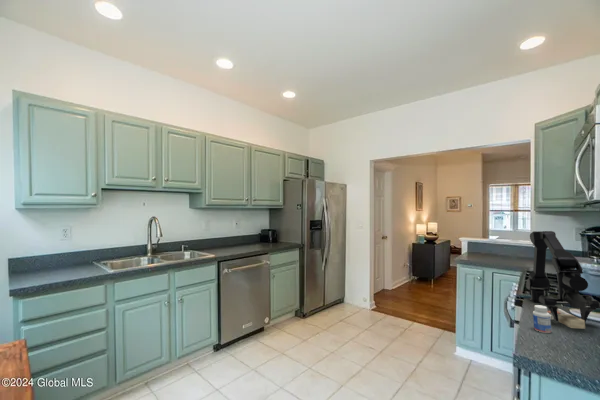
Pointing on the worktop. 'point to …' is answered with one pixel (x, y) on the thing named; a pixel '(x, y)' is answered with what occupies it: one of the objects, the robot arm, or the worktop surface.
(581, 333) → the worktop surface
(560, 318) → the birch block
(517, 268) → the worktop surface
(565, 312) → the channel
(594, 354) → the worktop surface
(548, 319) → the pill bottle
